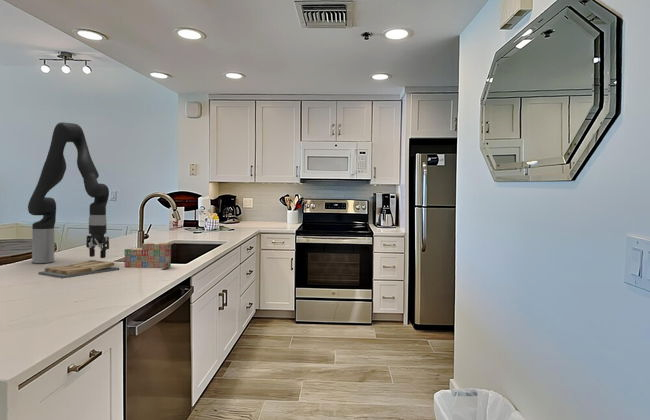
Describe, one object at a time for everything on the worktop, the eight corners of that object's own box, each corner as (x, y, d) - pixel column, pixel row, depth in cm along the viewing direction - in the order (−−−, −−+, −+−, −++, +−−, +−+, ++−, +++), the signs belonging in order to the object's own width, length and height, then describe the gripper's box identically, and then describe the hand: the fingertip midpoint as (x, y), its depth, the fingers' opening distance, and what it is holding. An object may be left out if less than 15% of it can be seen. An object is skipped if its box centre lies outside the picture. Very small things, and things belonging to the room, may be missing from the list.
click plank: (68, 268, 191) (68, 264, 191) (91, 262, 201) (91, 259, 200) (91, 271, 182) (91, 268, 182) (114, 265, 192) (114, 262, 192)
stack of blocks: (124, 267, 201) (124, 243, 201) (131, 265, 207) (131, 241, 207) (165, 268, 200) (165, 243, 199) (171, 266, 206) (171, 242, 206)
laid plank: (45, 271, 182) (45, 268, 182) (67, 268, 190) (67, 265, 190) (68, 274, 173) (68, 271, 173) (90, 271, 182) (90, 268, 182)
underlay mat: (38, 274, 180) (38, 272, 180) (95, 266, 203) (95, 264, 203) (62, 278, 171) (62, 275, 171) (119, 269, 194) (119, 267, 194)
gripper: (81, 223, 196) (81, 257, 196) (99, 225, 189) (99, 259, 190) (96, 223, 203) (95, 255, 203) (114, 224, 196) (113, 257, 196)
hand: (97, 257), depth 196 cm, fingers open, 8 cm apart
